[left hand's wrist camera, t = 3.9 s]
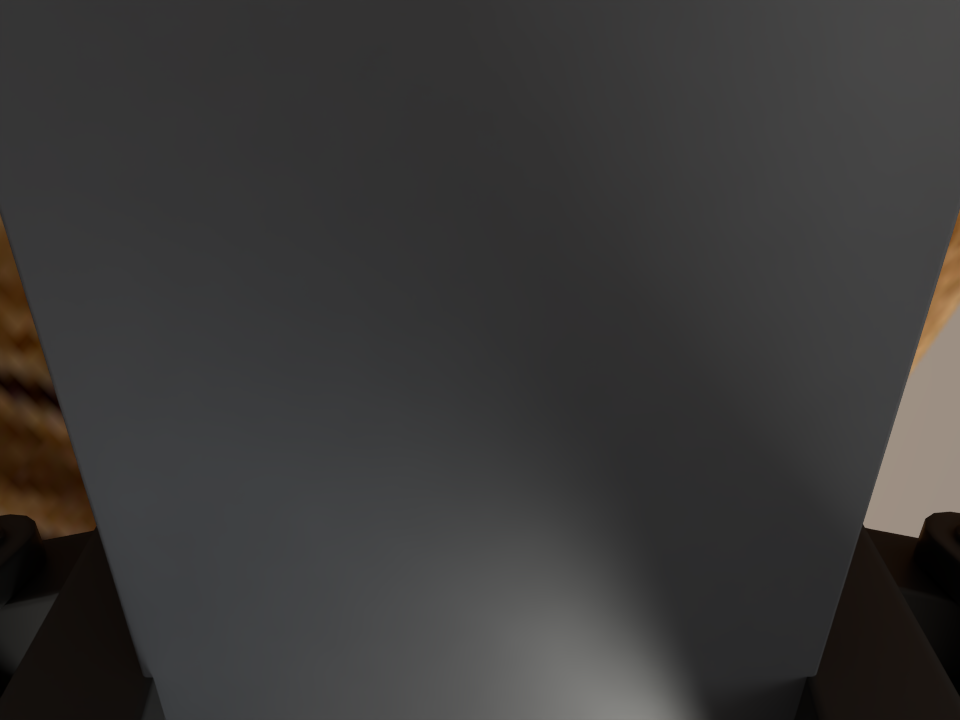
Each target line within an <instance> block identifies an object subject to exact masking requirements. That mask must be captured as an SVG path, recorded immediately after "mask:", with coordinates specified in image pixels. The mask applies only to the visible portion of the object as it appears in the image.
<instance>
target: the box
mask: <svg viewBox="0 0 960 720" xmlns="http://www.w3.org/2000/svg"><path fill="white" fill-rule="evenodd" d="M959 210H960V0H0V214H1V217H2V220H3V224H4V227H5V230H6V233H7V237H8V240H9V243H10V246H11V249H12V253H13V256H14V259H15V262H16V266H17V269H18V272H19V275H20V279H21V282H22V285H23V288H24V292H25V295H26V298H27V301H28V305H29V308H30V311H31V314H32V318H33V321H34V324H35V327H36V330H37V334H38V337H39V340H40V343H41V347H42V350H43V353H44V356H45V360H46V363H47V366H48V369H49V373H50V376H51V379H52V382H53V386H54V389H55V392H56V395H57V399H58V402H59V405H60V408H61V411H62V415H63V418H64V421H65V424H66V428H67V431H68V434H69V437H70V441H71V444H72V447H73V450H74V454H75V457H76V460H77V463H78V467H79V470H80V473H81V476H82V480H83V483H84V486H85V489H86V492H87V496H88V499H89V502H90V505H91V509H92V512H93V515H94V518H95V522H96V525H97V528H98V531H99V535H100V538H101V541H102V544H103V548H104V551H105V554H106V557H107V560H108V564H109V567H110V570H111V573H112V577H113V580H114V583H115V586H116V590H117V593H118V596H119V599H120V603H121V606H122V609H123V612H124V616H125V619H126V622H127V625H128V629H129V632H130V635H131V638H132V641H133V645H134V648H135V651H136V654H137V658H138V661H139V664H140V667H141V671H142V674H143V676H145V677H153V679H154V682H155V685H156V689H157V692H158V695H159V699H160V702H161V705H162V709H163V712H164V715H165V719H166V720H794V719H795V715H796V712H797V709H798V705H799V702H800V699H801V695H802V692H803V689H804V685H805V682H806V679H807V677H813V676H815V675H816V674H817V671H818V668H819V664H820V661H821V658H822V655H823V651H824V648H825V645H826V642H827V638H828V635H829V632H830V629H831V625H832V622H833V619H834V616H835V612H836V609H837V606H838V603H839V599H840V596H841V593H842V590H843V586H844V583H845V580H846V577H847V573H848V570H849V567H850V564H851V560H852V557H853V554H854V551H855V547H856V544H857V541H858V538H859V534H860V531H861V528H862V525H863V521H864V518H865V515H866V511H867V508H868V505H869V502H870V499H871V495H872V492H873V489H874V486H875V482H876V479H877V476H878V473H879V469H880V466H881V463H882V460H883V456H884V453H885V450H886V447H887V444H888V440H889V437H890V434H891V431H892V427H893V424H894V421H895V418H896V414H897V411H898V408H899V405H900V401H901V398H902V395H903V391H904V388H905V385H906V382H907V379H908V375H909V372H910V369H911V366H912V362H913V359H914V356H915V353H916V349H917V346H918V343H919V340H920V336H921V333H922V330H923V327H924V323H925V320H926V317H927V314H928V310H929V307H930V304H931V301H932V297H933V294H934V291H935V288H936V284H937V281H938V278H939V275H940V271H941V268H942V265H943V262H944V259H945V255H946V252H947V249H948V246H949V242H950V239H951V236H952V233H953V229H954V226H955V223H956V220H957V216H958V213H959Z"/></svg>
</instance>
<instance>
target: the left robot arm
mask: <svg viewBox="0 0 960 720" xmlns="http://www.w3.org/2000/svg"><path fill="white" fill-rule="evenodd" d="M0 720H166V719H165V715H164V712H163V709H162V705H161V702H160V699H159V695H158V692H157V689H156V685H155V682H154V679H153V677H145V676H143V674H142V671H141V667H140V664H139V661H138V658H137V654H136V651H135V648H134V645H133V641H132V638H131V635H130V632H129V629H128V625H127V622H126V619H125V616H124V612H123V609H122V606H121V603H120V599H119V596H118V593H117V590H116V586H115V583H114V580H113V577H112V573H111V570H110V567H109V564H108V560H107V557H106V554H105V551H104V548H103V544H102V541H101V538H100V535H99V531H98V528H97V526H96V528H95V530H94V531H90V532H85V533H79V534H74V535H69V536H64V537H58V538H53V539H48V540H43V541H42V540H41V537H40V534H39V531H38V529H37V526H36V523H35V521H34V520H32V519H30V518H29V517H27V516H23V515H12V514H10V515H3V516H0ZM794 720H960V513H955V512H942V513H933V514H932V515H931V516H929V517H927V518H926V519H925V521H924V524H923V527H922V530H921V533H920V535H919V538H915V537H909V536H904V535H899V534H894V533H888V532H883V531H878V530H873V529H868V528H865V527H864V525H862V528H861V531H860V534H859V538H858V541H857V544H856V547H855V551H854V554H853V557H852V560H851V564H850V567H849V570H848V573H847V577H846V580H845V583H844V586H843V590H842V593H841V596H840V599H839V603H838V606H837V609H836V612H835V616H834V619H833V622H832V625H831V629H830V632H829V635H828V638H827V642H826V645H825V648H824V651H823V655H822V658H821V661H820V664H819V668H818V671H817V674H816V675H815V676H813V677H807V679H806V682H805V685H804V689H803V692H802V695H801V699H800V702H799V705H798V709H797V712H796V715H795V719H794Z"/></svg>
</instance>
